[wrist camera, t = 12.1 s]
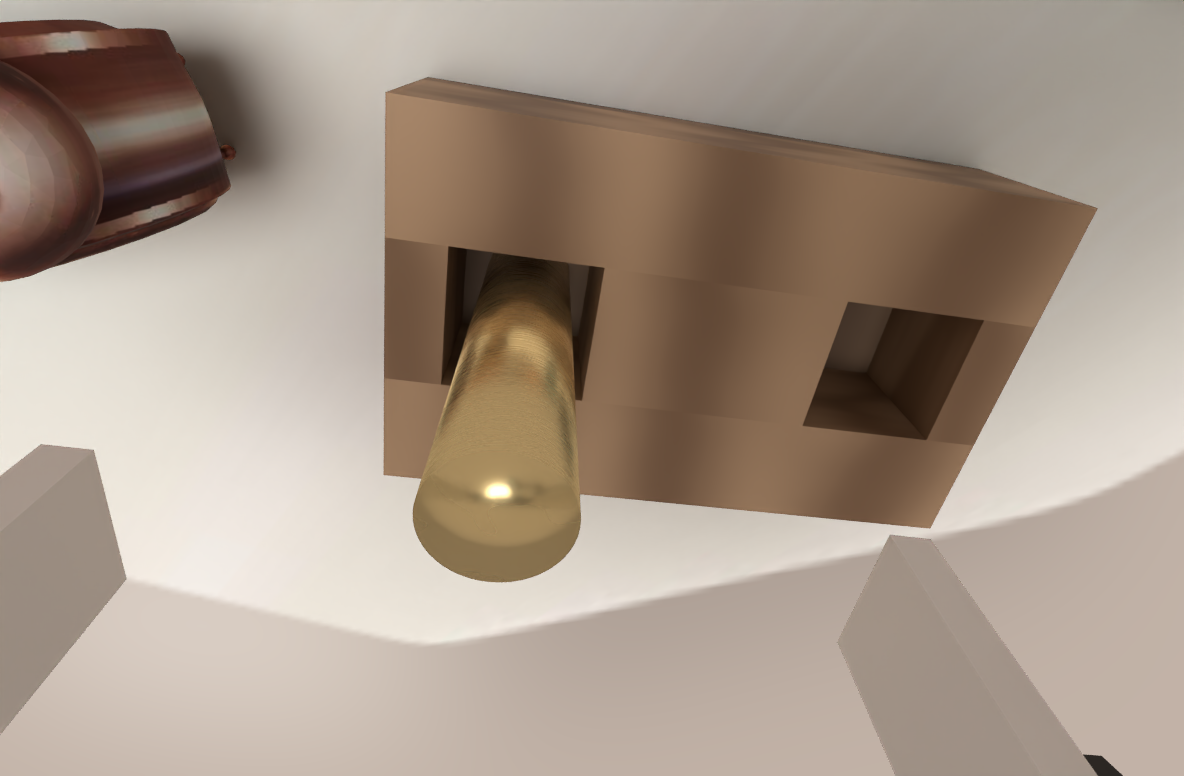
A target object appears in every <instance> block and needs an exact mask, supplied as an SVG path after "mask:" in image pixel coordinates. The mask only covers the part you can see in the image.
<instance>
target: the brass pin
mask: <svg viewBox="0 0 1184 776" xmlns="http://www.w3.org/2000/svg"><path fill="white" fill-rule="evenodd" d="M413 523H414V527H415V531H416V534H417V536H418V539H419V540H420V542H421V544H422V545H423V547H424V548H425V549H426V551H427V552H428V553H429V554H430V555H431V556H432V557H433V558H434V559H435V560H436V561H437V562H439V563H440V564H441V565H443V566H444V567H446V568H448V569H449V570H451V571H453V572H455V573H457V574H460V575H462V576H465V577H468V578H471V579H475V580H480V581H487V582H512V581H518V580H523V579H527V578H531V577H533V576H536V575H539V574H541V573H543V572H545V571H547V570H549V569H550V568H552V567H553V566H555V565H556V564H557V563H559V562H560V561H561V560H562V559H563V558H564V557H565V556H566V555H567V554H568V553H569V551H570V550H571V548H572V547H573V545H574V544H575V541H576V539H577V537H578V534H579V530H580V523H581V511H580V490H579V469H578V448H577V427H576V406H575V384H574V363H573V342H572V321H571V300H570V279H569V267H568V263H566V262H559V261H552V260H544V259H537V258H530V257H523V256H516V255H508V254H501V253H494V252H493V254H492V256H491V258H490V261H489V264H488V268H487V271H486V274H485V277H484V280H483V284H482V287H481V290H480V293H479V296H478V300H477V303H476V306H475V309H474V312H473V316H472V319H471V322H470V325H469V328H468V332H467V335H466V338H465V341H464V345H463V348H462V351H461V354H460V357H459V361H458V364H457V367H456V370H455V373H454V377H453V380H452V383H451V386H450V389H449V393H448V396H447V399H446V402H445V405H444V409H443V412H442V415H441V418H440V421H439V425H438V428H437V431H436V434H435V437H434V441H433V444H432V447H431V450H430V453H429V457H428V460H427V463H426V466H425V470H424V473H423V476H422V479H421V482H420V486H419V489H418V492H417V495H416V499H415V502H414V507H413Z"/></svg>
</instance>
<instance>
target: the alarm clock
mask: <svg viewBox="0 0 1184 776" xmlns="http://www.w3.org/2000/svg"><path fill="white" fill-rule="evenodd" d="M184 65H185V60H184V58H183V56H181V55H180V54H179V53H177V52H176V50H175V48H174V46H173V44H172V42H171V39H170V37H169V35H168V33H167V32H166V31H164V30H157V29H140V28H135V29H117V28H114V27H112V26H109V25H106V24H104V23H101V22H96V21H87V20H38V21H17V22H1V23H0V282H3V281H11V280H16V279H20V278H24V277H29V276H32V275H34V274H37V273H39V272H41V271H44V270H46V269H49V268H52V267H55V266H59V265H62V264H66V263H69V262H72V261H75V260H79V259H82V258H85V257H88V256H92V255H95V254H98V253H101V252H104V251H108V250H111V249H113V248H116V247H119V246H122V245H125V244H128V243H131V242H134V241H137V240H140V239H143V238H145V237H148V236H151V235H153V234H156V233H158V232H161V231H164V230H166V229H169V228H171V227H174V226H177V225H179V224H181V223H183V222H185V221H187V220H190V219H192V218H194V217H196V216H198V215H200V214H202V213H204V212H206V211H207V210H208V209H209V208H211V207H212V206H213V205H214V204H215V203H216V201H217V198H218V197H219V196H221V195H223V194H224V193H225V192H227V191H228V190H229V189H230V187H231V185H230V181H229V178H228V174H227V171H226V168H225V165H224V161H223V159H226V160H231V159H233V158H234V157H235V153H236V152H235V150H234V148H233V147H231V146H229V145H223V146H221V147H220V148H219V145H218V142H217V139H216V136H215V132H214V129H213V126H212V123H211V120H210V117H209V115H208V112H207V110H206V107H205V105H204V102H203V100H202V98H201V96H200V94H199V92H198V90H197V89H196V87H195V85H194V83H193V81H192V79H191V78H190V76H189V74H188V72H187V70H186V68H185V66H184Z"/></svg>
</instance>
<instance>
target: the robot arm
mask: <svg viewBox="0 0 1184 776" xmlns="http://www.w3.org/2000/svg"><path fill="white" fill-rule="evenodd" d="M125 580H126V575H125V571H124V567H123V563H122V559H121V555H120V552H119V548H118V544H117V540H116V536H115V532H114V528H113V524H112V520H111V516H110V512H109V508H108V504H107V500H106V496H105V492H104V488H103V484H102V480H101V476H100V473H99V469H98V465H97V461H96V457H95V453H94V450H89V449H80V448H71V447H61V446H52V445H43V444H41V445H39V446H38V447H37V448H36V449H34V450H33V451H32V452H30V453H29V454H28V455H27V456H25V457H24V458H23V459H21V460H20V461H19V462H18V463H16V464H15V465H14V466H12V467H11V468H10V469H9V470H7V471H6V472H5V473H4V474H2V475H1V476H0V734H1V733H2V732H3V731H4V730H5V728H6V727H7V726H8V725H9V723H10V722H11V721H12V720H13V718H14V717H15V716H16V715H17V714H18V712H19V711H20V710H21V709H22V707H23V706H24V705H25V704H26V702H27V701H28V700H29V699H30V698H31V696H32V695H33V694H34V692H35V691H36V690H37V689H38V688H39V686H40V685H41V684H42V683H43V681H44V680H45V679H46V678H47V677H48V675H49V674H50V673H51V672H52V670H53V669H54V668H55V667H56V665H57V664H58V663H59V662H60V661H61V659H62V658H63V657H64V656H65V654H66V653H67V652H68V651H69V649H70V648H71V647H72V646H73V645H74V643H75V642H76V641H77V640H78V638H79V637H80V636H81V635H82V633H83V632H84V631H85V630H86V628H87V627H88V626H89V625H90V624H91V622H92V621H93V620H94V619H95V617H96V616H97V615H98V614H99V612H100V611H101V610H102V609H103V607H104V606H105V605H106V604H107V603H108V601H109V600H110V599H111V598H112V596H113V595H114V594H115V593H116V591H117V590H118V589H119V588H120V586H121V585H122V584H123V583H124V582H125ZM837 643H838V645H839V647H840V649H841V652H842V654H843V656H844V659H845V661H846V663H847V666H848V668H849V670H850V672H851V675H852V677H853V679H854V682H855V684H856V686H857V688H858V691H859V693H860V695H861V698H862V700H863V702H864V704H865V707H866V709H867V712H868V714H869V716H870V718H871V721H872V723H873V725H874V728H875V730H876V732H877V735H878V737H879V739H880V741H881V744H882V746H883V748H884V750H885V753H886V755H887V757H888V760H889V762H890V764H891V767H892V769H893V771H894V774H895V776H1123V775H1122V774H1120V773H1119V772H1118V771H1117V770H1116V769H1115V768H1114V767H1113V766H1112V765H1111V764H1110V763H1109V762H1108V761H1106V760H1105V759H1104V758H1103V757H1102V756H1096V755H1083V754H1082V753H1081V751H1080V750H1079V748H1078V747H1077V746H1076V745H1075V743H1074V741H1073V740H1072V739H1071V737H1070V736H1069V734H1068V733H1067V731H1066V730H1065V729H1064V727H1063V726H1062V725H1061V723H1060V722H1059V720H1058V719H1057V717H1056V716H1055V715H1054V713H1053V712H1052V710H1051V709H1050V707H1049V706H1048V705H1047V703H1046V702H1045V700H1044V699H1043V698H1042V696H1041V695H1040V693H1039V692H1038V690H1037V689H1036V688H1035V686H1034V685H1033V683H1032V682H1031V681H1030V679H1029V678H1028V677H1027V675H1026V674H1025V672H1024V671H1023V669H1022V668H1021V666H1020V665H1019V664H1018V662H1017V661H1016V659H1015V658H1014V656H1013V655H1012V654H1011V652H1010V651H1009V649H1008V648H1007V647H1006V646H1005V644H1004V642H1003V641H1002V640H1001V638H1000V637H999V636H998V634H997V633H996V631H995V630H994V628H993V627H992V625H991V624H990V623H989V621H988V620H987V618H986V617H985V615H984V614H983V613H982V611H981V610H980V608H979V607H978V605H977V604H976V603H975V601H974V600H973V598H972V597H971V596H970V594H969V593H968V591H967V590H966V588H965V587H964V586H963V584H962V583H961V581H960V580H959V579H958V577H957V576H956V575H955V573H954V572H953V570H952V569H951V567H950V566H949V564H948V563H947V562H946V560H945V559H944V557H943V556H942V555H941V553H940V552H939V550H938V549H937V547H936V546H935V545H934V543H933V542H932V540H931V539H923V538H914V537H905V536H895V535H890V536H889V538H888V540H887V542H886V544H885V546H884V548H883V550H882V552H881V554H880V556H879V558H878V560H877V562H876V564H875V566H874V568H873V571H872V572H871V574H870V576H869V578H868V581H867V583H866V585H865V587H864V589H863V591H862V593H861V595H860V597H859V599H858V601H857V603H856V605H855V607H854V609H853V611H852V613H851V615H850V617H849V619H848V621H847V623H846V626H845V627H844V629H843V632H842V634H841V636H840V638H839V640H838V642H837Z"/></svg>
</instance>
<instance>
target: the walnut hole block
mask: <svg viewBox="0 0 1184 776" xmlns="http://www.w3.org/2000/svg"><path fill="white" fill-rule="evenodd" d="M1097 209H1098V208H1095V207H1092V206H1089V205H1086V204H1083V203H1080V202H1077V201H1074V200H1071V199H1068V198H1065V197H1062V196H1059V195H1056V194H1053V193H1050V192H1047V191H1044V190H1040V189H1037V188H1034V187H1031V186H1028V185H1025V184H1022V183H1019V182H1016V181H1013V180H1010V179H1007V178H1004V177H1001V176H998V175H995V174H992V173H989V172H986V171H983V170H980V169H975V168H969V167H963V166H957V165H951V164H945V163H939V162H933V161H927V160H921V159H915V158H909V157H903V156H897V155H891V154H885V153H879V152H873V151H867V150H861V149H855V148H849V147H843V146H837V145H831V144H825V143H819V142H813V141H807V140H801V139H795V138H789V137H783V136H777V135H771V134H765V133H759V132H753V131H747V130H741V129H735V128H729V127H723V126H717V125H711V124H705V123H699V122H693V121H687V120H681V119H675V118H669V117H663V116H657V115H651V114H645V113H639V112H633V111H627V110H621V109H615V108H609V107H603V106H597V105H591V104H586V103H580V102H574V101H568V100H562V99H556V98H550V97H544V96H538V95H532V94H526V93H520V92H514V91H508V90H502V89H496V88H490V87H484V86H478V85H472V84H466V83H460V82H454V81H448V80H442V79H436V78H430V77H427V78H424V79H421V80H419V81H416V82H413V83H410V84H407V85H404V86H402V87H399V88H396V89H393V90H390V91H388V92H386V118H385V315H384V475H390V476H400V477H410V478H421V479H422V476H423V473H424V470H425V466H426V463H427V460H428V457H429V453H430V450H431V447H432V444H433V441H434V437H435V434H436V431H437V428H438V425H439V421H440V418H441V415H442V412H443V409H444V405H445V402H446V399H447V396H448V393H449V389H450V386H451V383H452V380H453V377H454V373H455V370H456V367H457V364H458V361H459V357H460V354H461V351H462V348H463V345H464V341H465V338H466V335H467V332H468V328H469V325H470V322H471V319H472V316H473V312H474V309H475V306H476V303H477V300H478V296H479V293H480V290H481V287H482V284H483V280H484V277H485V274H486V271H487V268H488V264H489V261H490V258H491V256H492V254H493V252H494V253H501V254H508V255H516V256H523V257H530V258H537V259H544V260H552V261H559V262H566V263H568V267H569V279H570V300H571V321H572V342H573V363H574V384H575V406H576V427H577V448H578V469H579V490H580V494H584V495H594V496H604V497H615V498H625V499H635V500H645V501H655V502H666V503H676V504H686V505H696V506H706V507H717V508H727V509H737V510H747V511H758V512H768V513H778V514H788V515H798V516H809V517H819V518H829V519H839V520H849V521H860V522H870V523H880V524H890V525H900V526H911V527H921V528H931V526H932V524H933V522H934V520H935V518H936V516H937V514H938V512H939V510H940V508H941V507H942V505H943V503H944V501H945V499H946V497H947V495H948V493H949V491H950V489H951V487H952V486H953V484H954V482H955V480H956V478H957V476H958V474H959V472H960V470H961V468H962V466H963V465H964V463H965V461H966V459H967V457H968V455H969V453H970V451H971V449H972V447H973V445H974V444H975V442H976V440H977V438H978V436H979V434H980V432H981V430H982V428H983V426H984V424H985V423H986V421H987V419H988V417H989V415H990V413H991V411H992V409H993V407H994V405H995V403H996V402H997V400H998V398H999V396H1000V394H1001V392H1002V390H1003V388H1004V386H1005V384H1006V382H1007V381H1008V379H1009V377H1010V375H1011V373H1012V371H1013V369H1014V367H1015V365H1016V363H1017V361H1018V360H1019V358H1020V356H1021V354H1022V352H1023V350H1024V348H1025V346H1026V344H1027V342H1028V340H1029V339H1030V337H1031V335H1032V333H1033V331H1034V329H1035V327H1036V325H1037V323H1038V321H1039V319H1040V318H1041V316H1042V314H1043V312H1044V310H1045V308H1046V306H1047V304H1048V302H1049V300H1050V298H1051V296H1052V295H1053V293H1054V291H1055V289H1056V287H1057V285H1058V283H1059V281H1060V279H1061V277H1062V275H1063V274H1064V272H1065V270H1066V268H1067V266H1068V264H1069V262H1070V260H1071V258H1072V256H1073V254H1074V253H1075V251H1076V249H1077V247H1078V245H1079V243H1080V241H1081V239H1082V237H1083V235H1084V233H1085V232H1086V230H1087V228H1088V226H1089V224H1090V222H1091V220H1092V218H1093V216H1094V214H1095V212H1096V211H1097Z"/></svg>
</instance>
